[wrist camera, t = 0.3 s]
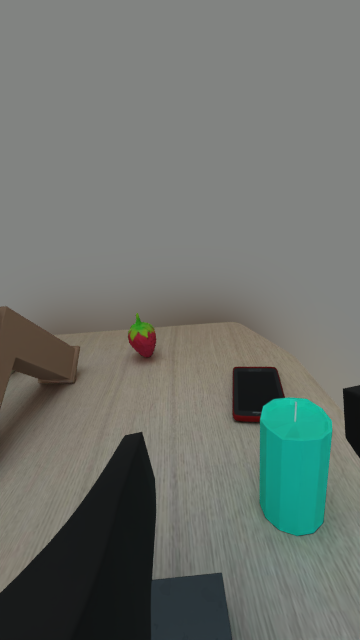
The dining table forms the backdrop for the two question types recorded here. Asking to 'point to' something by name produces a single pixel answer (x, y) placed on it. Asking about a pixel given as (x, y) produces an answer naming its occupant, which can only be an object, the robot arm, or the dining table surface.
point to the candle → (294, 464)
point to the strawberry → (142, 337)
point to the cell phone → (254, 391)
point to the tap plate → (189, 608)
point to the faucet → (33, 352)
